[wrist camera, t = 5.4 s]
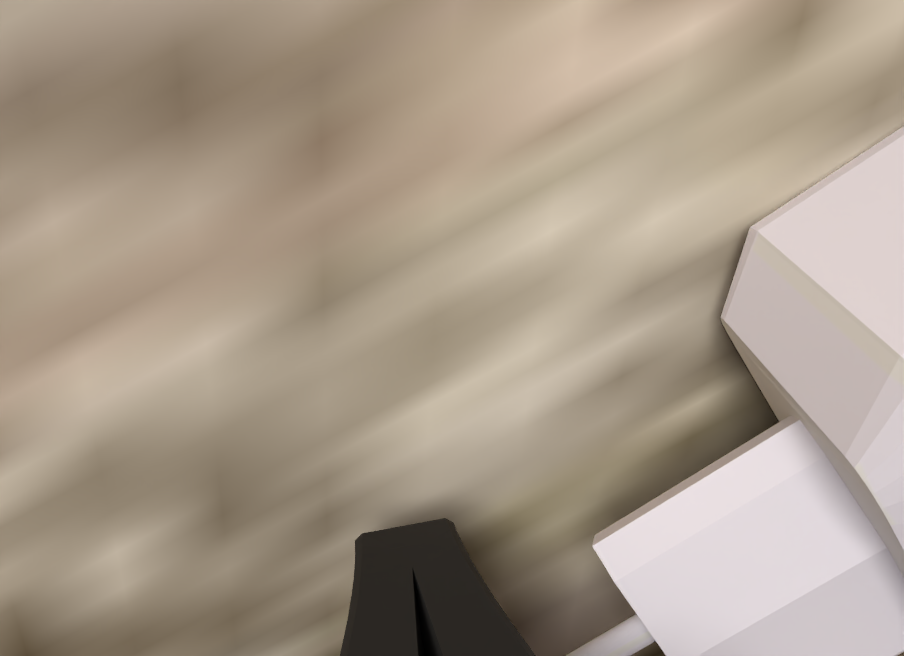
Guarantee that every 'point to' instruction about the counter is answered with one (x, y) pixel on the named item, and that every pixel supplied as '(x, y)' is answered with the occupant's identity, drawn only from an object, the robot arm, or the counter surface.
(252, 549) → the counter surface
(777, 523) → the charger
